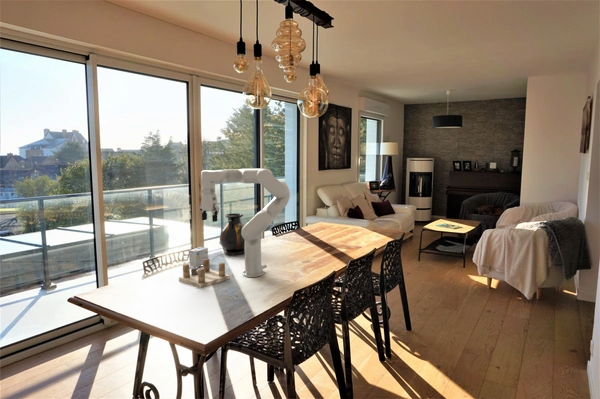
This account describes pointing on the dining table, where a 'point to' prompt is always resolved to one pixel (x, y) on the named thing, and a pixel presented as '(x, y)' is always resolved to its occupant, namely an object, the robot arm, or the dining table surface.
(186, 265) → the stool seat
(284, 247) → the dining table surface
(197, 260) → the light bulb box
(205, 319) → the dining table surface
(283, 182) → the robot arm
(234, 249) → the amphora vase
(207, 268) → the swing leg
